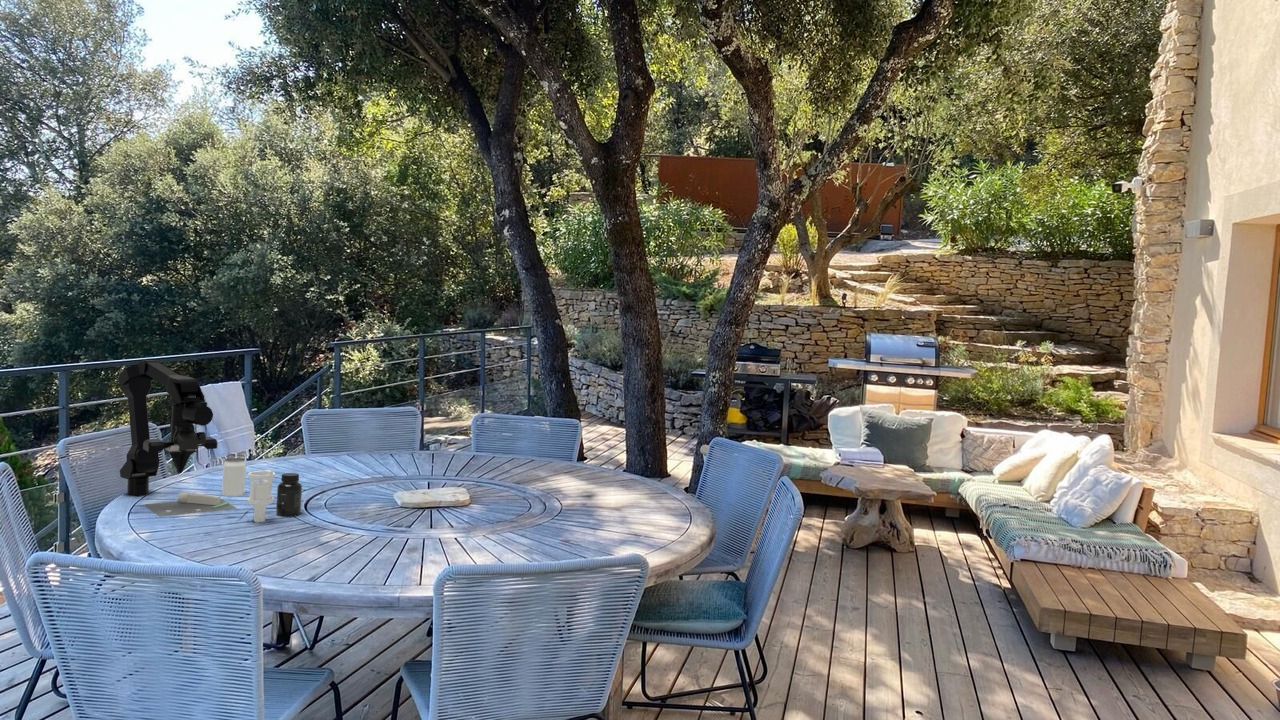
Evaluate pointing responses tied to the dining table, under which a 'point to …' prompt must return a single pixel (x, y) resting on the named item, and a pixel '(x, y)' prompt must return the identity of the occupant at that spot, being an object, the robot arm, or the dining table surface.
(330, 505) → the dining table surface
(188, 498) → the beige wooden bar
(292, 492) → the supplement bottle
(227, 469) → the can
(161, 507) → the dial board
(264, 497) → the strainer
